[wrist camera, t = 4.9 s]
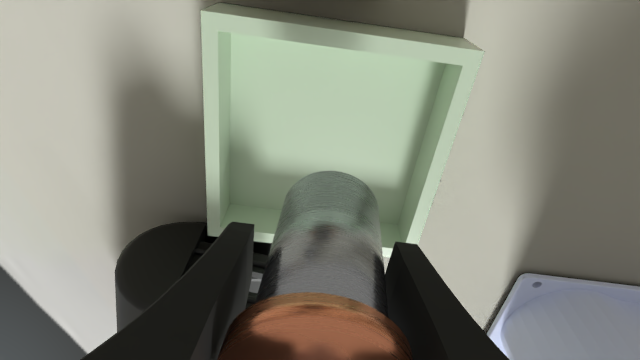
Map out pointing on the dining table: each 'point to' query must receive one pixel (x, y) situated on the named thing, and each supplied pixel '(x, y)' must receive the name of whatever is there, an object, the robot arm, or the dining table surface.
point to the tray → (327, 113)
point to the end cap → (168, 265)
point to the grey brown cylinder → (321, 281)
